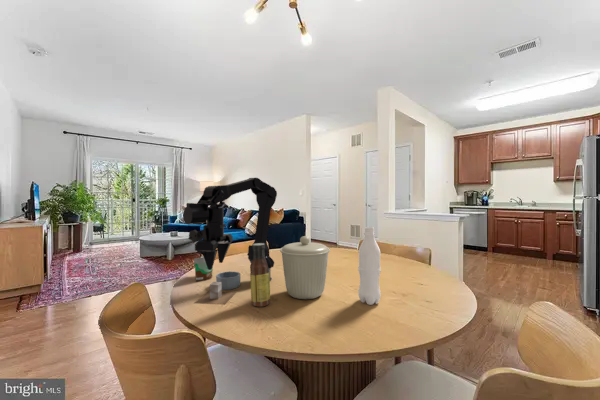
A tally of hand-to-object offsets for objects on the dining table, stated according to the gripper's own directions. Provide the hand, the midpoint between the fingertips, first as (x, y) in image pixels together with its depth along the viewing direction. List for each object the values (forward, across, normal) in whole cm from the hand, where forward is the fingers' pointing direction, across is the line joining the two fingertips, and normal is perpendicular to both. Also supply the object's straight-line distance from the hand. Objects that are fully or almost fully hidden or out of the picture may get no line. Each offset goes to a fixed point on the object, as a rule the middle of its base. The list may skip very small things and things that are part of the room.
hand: (215, 266), depth 95 cm
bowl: (+11, -12, 0) cm, 16 cm away
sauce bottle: (+11, +4, +17) cm, 21 cm away
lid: (+12, 0, 0) cm, 12 cm away
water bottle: (+11, -1, +53) cm, 54 cm away
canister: (+11, -6, +31) cm, 34 cm away
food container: (+11, -21, -13) cm, 27 cm away
